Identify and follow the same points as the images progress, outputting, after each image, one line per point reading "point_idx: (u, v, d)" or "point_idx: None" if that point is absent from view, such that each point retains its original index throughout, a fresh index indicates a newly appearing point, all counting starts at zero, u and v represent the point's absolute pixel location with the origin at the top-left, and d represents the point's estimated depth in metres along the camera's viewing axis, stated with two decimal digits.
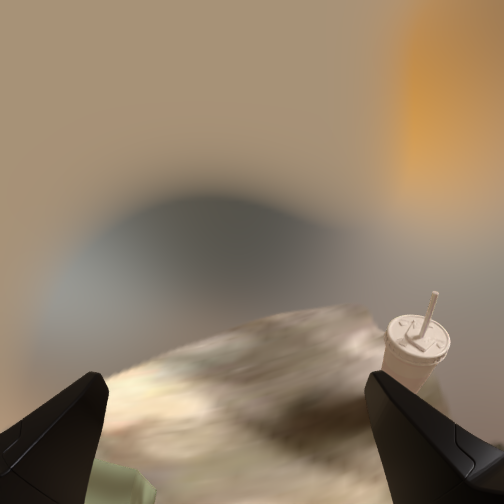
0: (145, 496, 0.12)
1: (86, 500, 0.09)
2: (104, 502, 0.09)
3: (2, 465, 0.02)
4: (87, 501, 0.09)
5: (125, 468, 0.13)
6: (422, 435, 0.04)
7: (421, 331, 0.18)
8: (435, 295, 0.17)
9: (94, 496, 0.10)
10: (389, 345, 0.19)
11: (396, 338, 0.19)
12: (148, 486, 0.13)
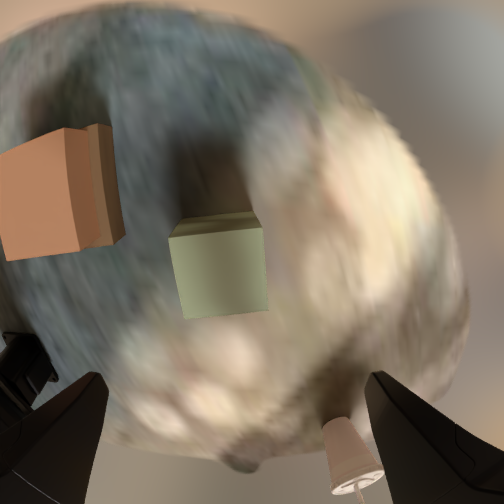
0: None
1: (191, 268, 0.15)
2: (202, 290, 0.15)
3: (2, 465, 0.02)
4: (191, 270, 0.15)
5: (264, 297, 0.16)
6: (422, 435, 0.04)
7: (357, 488, 0.18)
8: None
9: (204, 276, 0.15)
10: (363, 470, 0.19)
11: (364, 475, 0.19)
12: None
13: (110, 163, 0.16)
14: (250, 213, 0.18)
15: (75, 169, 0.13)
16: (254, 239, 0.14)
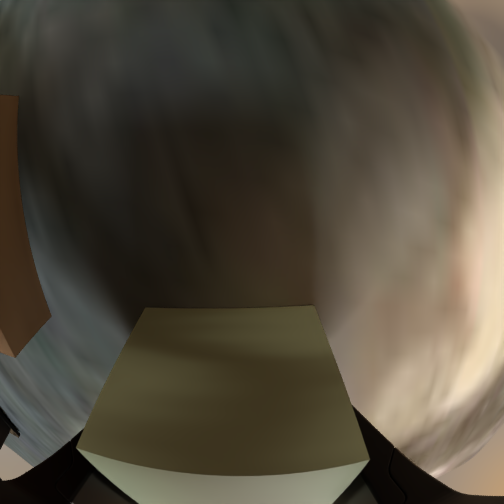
0: None
1: (154, 493, 0.04)
2: None
3: (58, 499, 0.02)
4: (156, 495, 0.04)
5: None
6: None
7: None
8: None
9: None
10: None
11: None
12: None
13: None
14: (311, 324, 0.07)
15: None
16: (333, 478, 0.03)
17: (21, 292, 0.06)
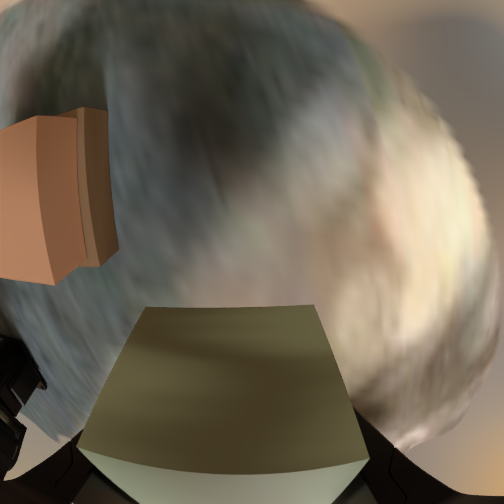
0: None
1: (154, 493, 0.04)
2: None
3: (58, 499, 0.02)
4: (156, 494, 0.04)
5: None
6: None
7: None
8: None
9: (187, 503, 0.04)
10: None
11: None
12: None
13: (100, 159, 0.12)
14: (311, 323, 0.07)
15: (52, 173, 0.09)
16: (333, 477, 0.03)
17: (107, 228, 0.13)
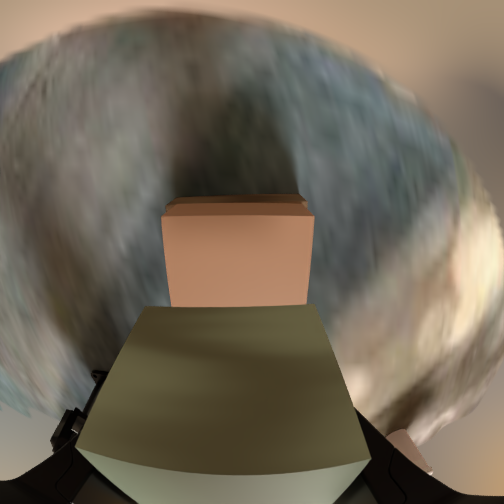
0: None
1: (154, 493, 0.04)
2: None
3: (58, 499, 0.02)
4: (155, 495, 0.04)
5: None
6: None
7: None
8: None
9: None
10: None
11: None
12: None
13: None
14: (312, 323, 0.07)
15: None
16: (334, 477, 0.03)
17: None
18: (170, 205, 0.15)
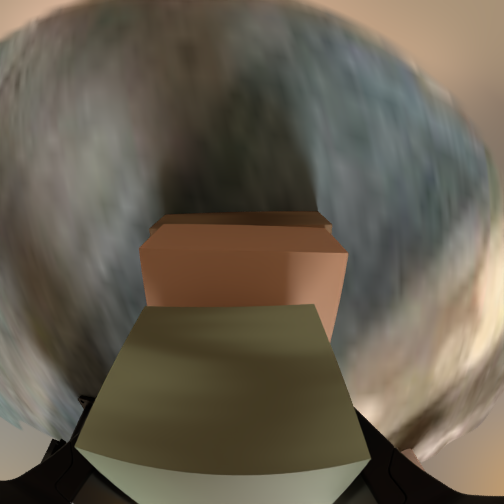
0: None
1: (154, 493, 0.04)
2: None
3: (58, 499, 0.02)
4: (155, 495, 0.04)
5: None
6: None
7: None
8: None
9: (187, 503, 0.04)
10: None
11: None
12: None
13: None
14: (312, 322, 0.07)
15: None
16: (334, 477, 0.03)
17: None
18: (155, 228, 0.12)
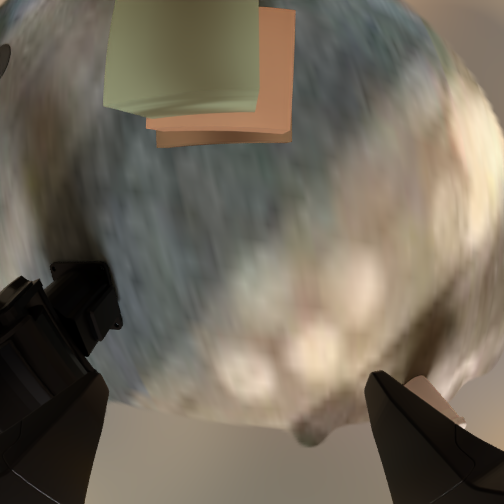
0: (217, 104, 0.09)
1: (136, 19, 0.06)
2: (143, 49, 0.06)
3: (2, 465, 0.02)
4: (135, 22, 0.06)
5: (254, 62, 0.07)
6: (422, 435, 0.04)
7: None
8: None
9: (152, 27, 0.06)
10: None
11: None
12: (246, 104, 0.10)
13: None
14: None
15: None
16: None
17: None
18: None
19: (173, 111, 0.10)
